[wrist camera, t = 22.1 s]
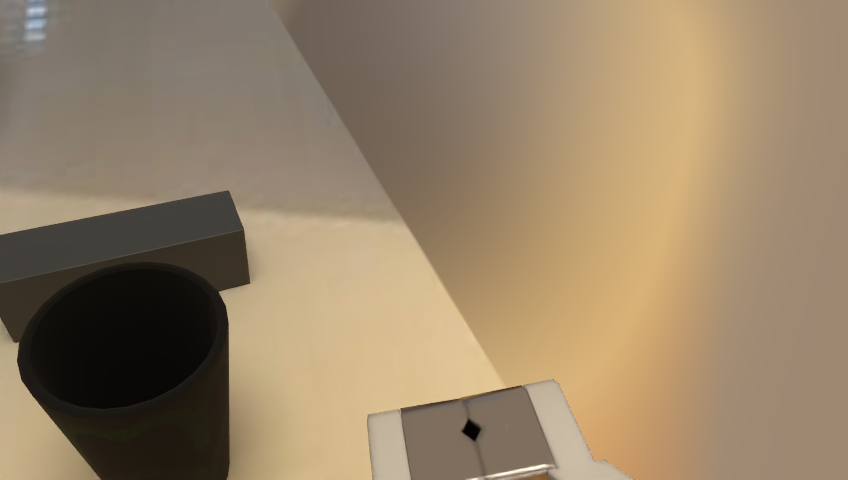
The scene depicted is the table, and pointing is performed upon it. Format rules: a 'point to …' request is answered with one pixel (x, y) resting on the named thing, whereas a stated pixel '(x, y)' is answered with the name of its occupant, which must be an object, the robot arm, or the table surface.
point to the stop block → (121, 250)
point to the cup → (135, 371)
